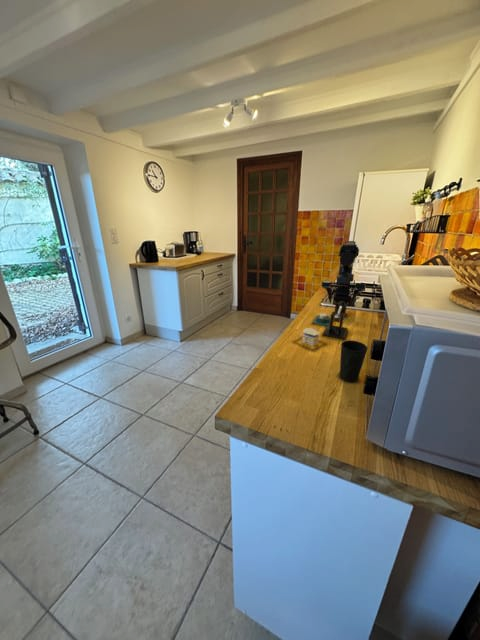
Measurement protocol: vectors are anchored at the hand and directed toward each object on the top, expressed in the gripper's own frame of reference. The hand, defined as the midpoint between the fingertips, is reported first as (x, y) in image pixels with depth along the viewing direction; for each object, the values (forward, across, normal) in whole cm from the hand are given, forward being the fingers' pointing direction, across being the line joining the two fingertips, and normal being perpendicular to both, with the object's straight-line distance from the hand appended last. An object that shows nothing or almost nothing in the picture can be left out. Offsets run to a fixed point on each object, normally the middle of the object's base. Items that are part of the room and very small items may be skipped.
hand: (340, 304), depth 118 cm
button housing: (+9, -8, +9) cm, 15 cm away
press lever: (+4, 0, +1) cm, 4 cm away
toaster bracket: (+14, 0, -1) cm, 14 cm away
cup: (+28, +10, -32) cm, 44 cm away
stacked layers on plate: (+20, -8, -15) cm, 26 cm away
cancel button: (+7, -8, +8) cm, 13 cm away
